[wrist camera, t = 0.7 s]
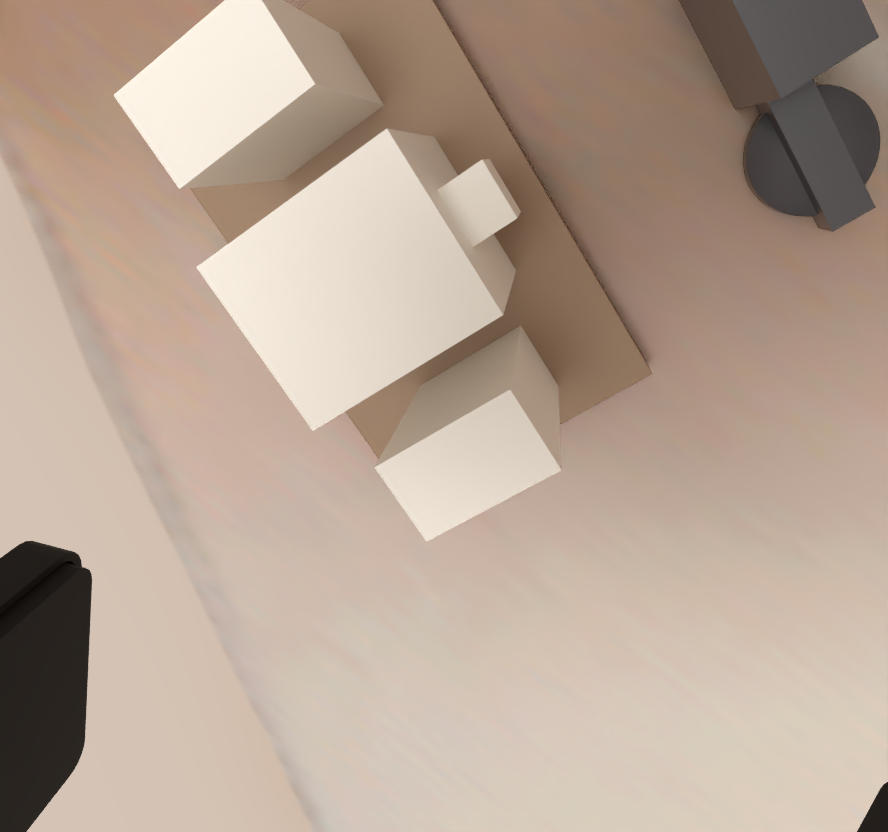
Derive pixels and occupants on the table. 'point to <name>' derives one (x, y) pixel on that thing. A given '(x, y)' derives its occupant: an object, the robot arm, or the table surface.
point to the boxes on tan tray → (386, 242)
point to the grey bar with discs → (796, 100)
